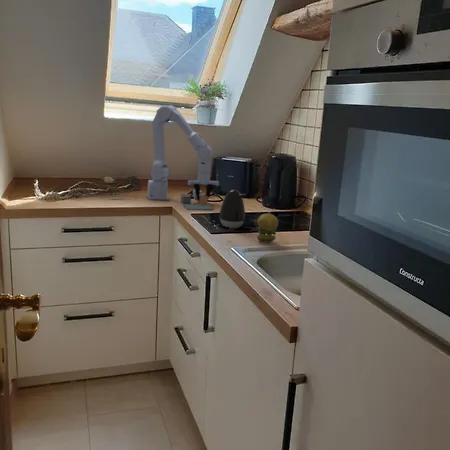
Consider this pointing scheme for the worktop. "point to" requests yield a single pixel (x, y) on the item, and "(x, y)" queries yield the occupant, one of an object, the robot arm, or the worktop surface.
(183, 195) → the charcoal brick
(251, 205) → the worktop surface
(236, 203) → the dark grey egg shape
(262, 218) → the hamburger
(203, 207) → the slate mat
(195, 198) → the dusty-blue brick
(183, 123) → the robot arm
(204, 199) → the terracotta brick
